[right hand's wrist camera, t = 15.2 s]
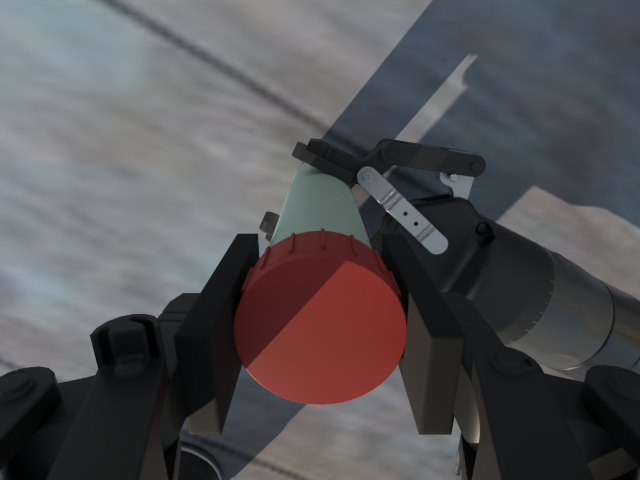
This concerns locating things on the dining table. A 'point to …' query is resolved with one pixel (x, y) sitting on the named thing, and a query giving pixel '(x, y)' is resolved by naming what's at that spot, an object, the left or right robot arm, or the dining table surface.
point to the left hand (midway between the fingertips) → (280, 185)
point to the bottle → (319, 207)
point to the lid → (320, 319)
